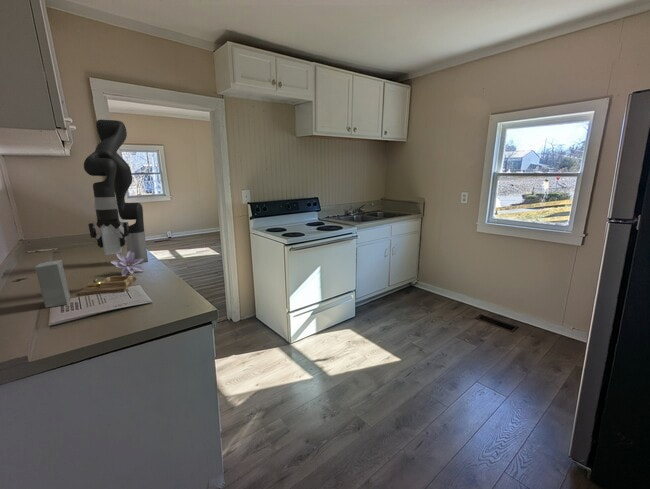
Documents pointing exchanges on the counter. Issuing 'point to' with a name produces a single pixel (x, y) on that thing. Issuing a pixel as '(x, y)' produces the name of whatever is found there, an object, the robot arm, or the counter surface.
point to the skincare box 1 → (53, 283)
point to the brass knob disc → (94, 283)
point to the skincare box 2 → (110, 241)
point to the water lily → (128, 263)
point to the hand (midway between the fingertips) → (112, 246)
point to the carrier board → (110, 285)
